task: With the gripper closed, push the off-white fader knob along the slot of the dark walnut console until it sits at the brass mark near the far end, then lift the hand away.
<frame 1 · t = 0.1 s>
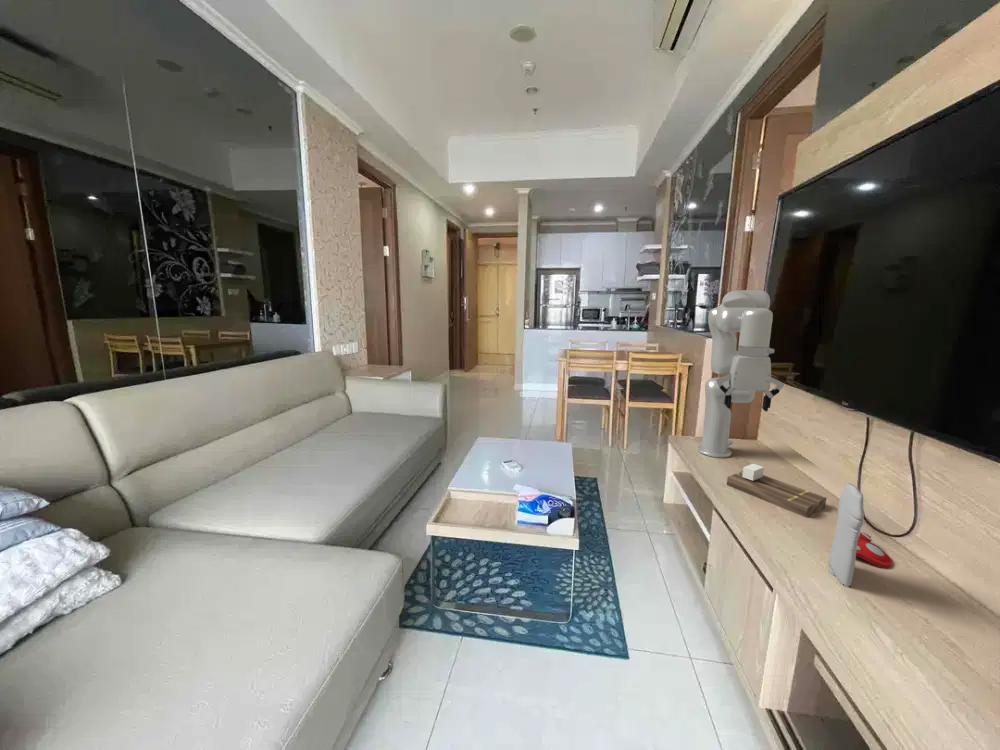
hand: (746, 408, 121), 31 cm above the tv stand, tool pointing down, fingers open, 9 cm apart
tracker holder: (866, 555, 102), on the tv stand
tall pale column: (839, 574, 95), on the tv stand
fader knob: (752, 474, 137), point 4 cm above the tv stand, slide at -7.0 cm
fader console: (773, 495, 132), on the tv stand
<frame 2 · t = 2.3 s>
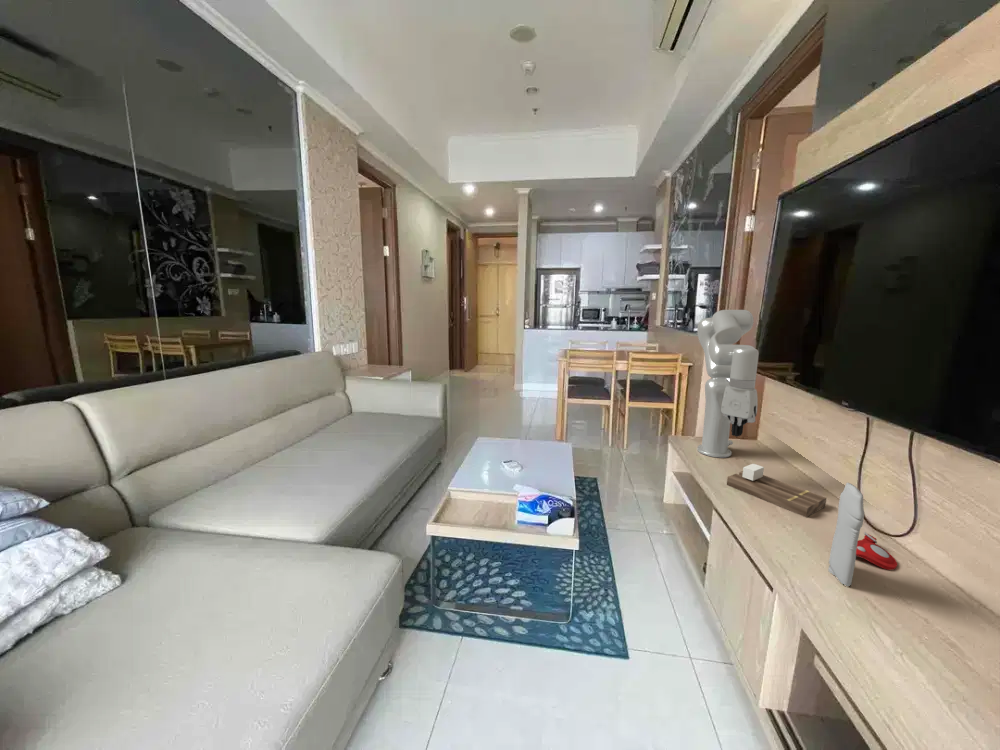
hand: (736, 435, 140), 16 cm above the tv stand, tool pointing down, fingers closed
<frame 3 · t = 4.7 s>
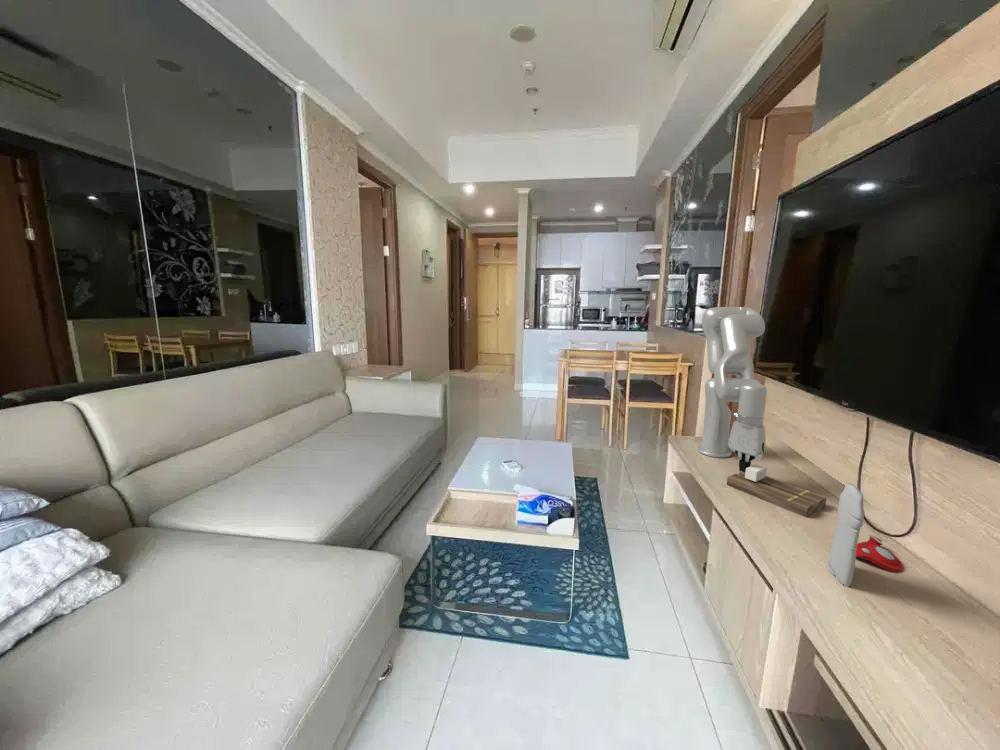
hand: (744, 470, 140), 5 cm above the tv stand, tool pointing down, fingers closed
fader knob: (755, 475, 137), point 4 cm above the tv stand, slide at -6.1 cm, touching gripper
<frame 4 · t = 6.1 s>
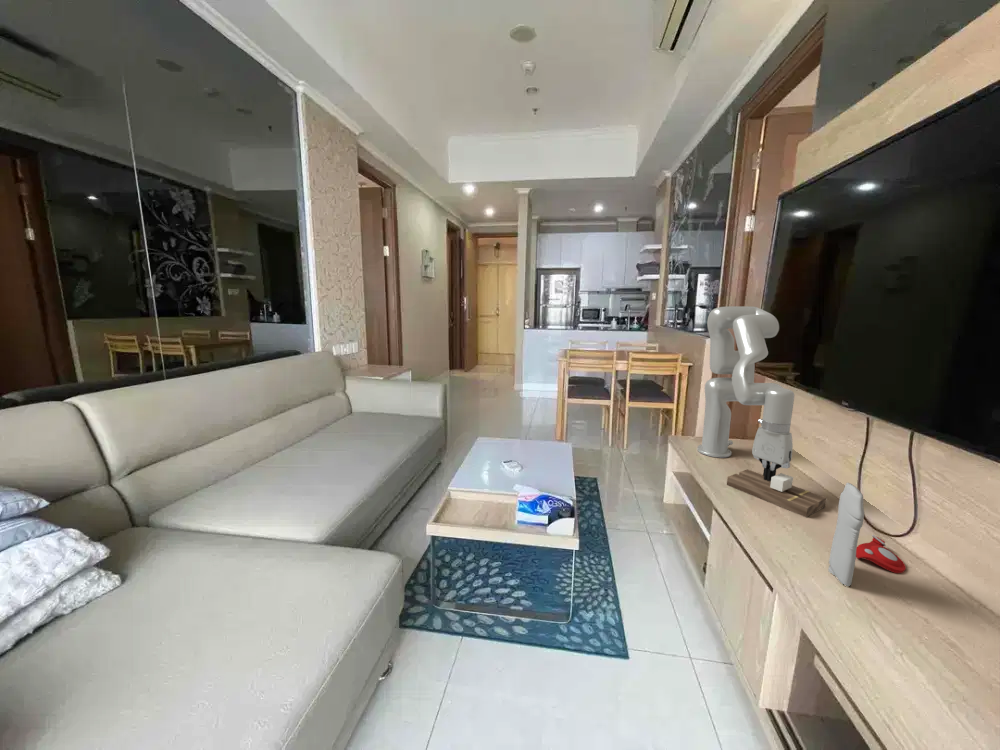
hand: (768, 479, 133), 5 cm above the tv stand, tool pointing down, fingers closed
fader knob: (781, 484, 130), point 4 cm above the tv stand, slide at 1.9 cm, touching gripper
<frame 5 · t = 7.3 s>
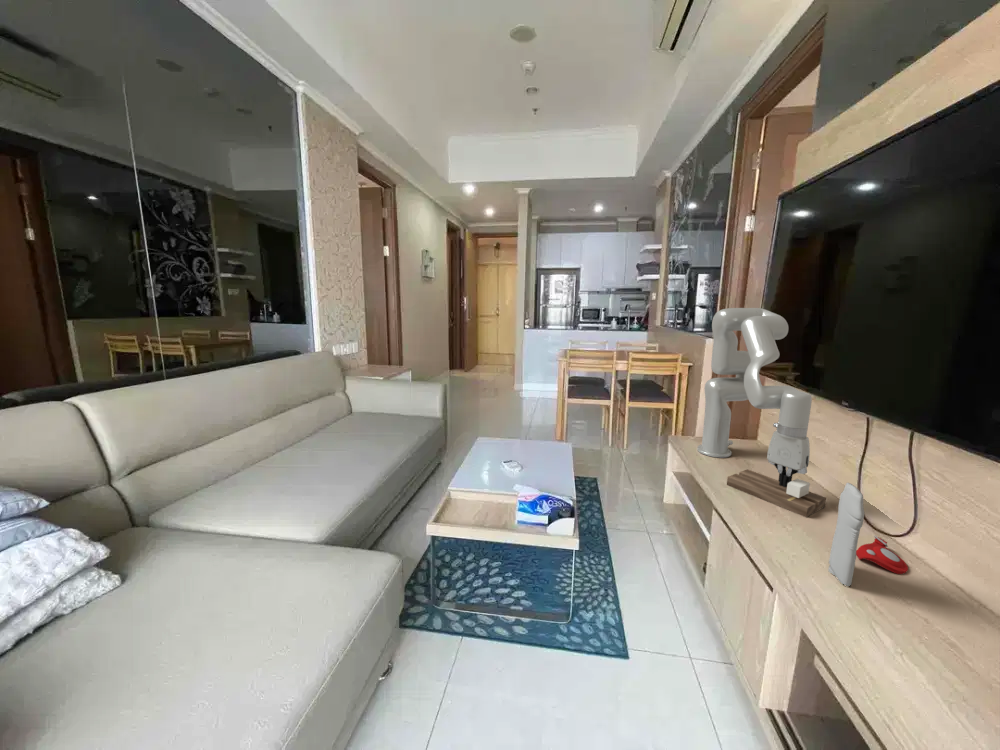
hand: (784, 485, 129), 5 cm above the tv stand, tool pointing down, fingers closed
fader knob: (797, 490, 126), point 4 cm above the tv stand, slide at 6.6 cm, touching gripper
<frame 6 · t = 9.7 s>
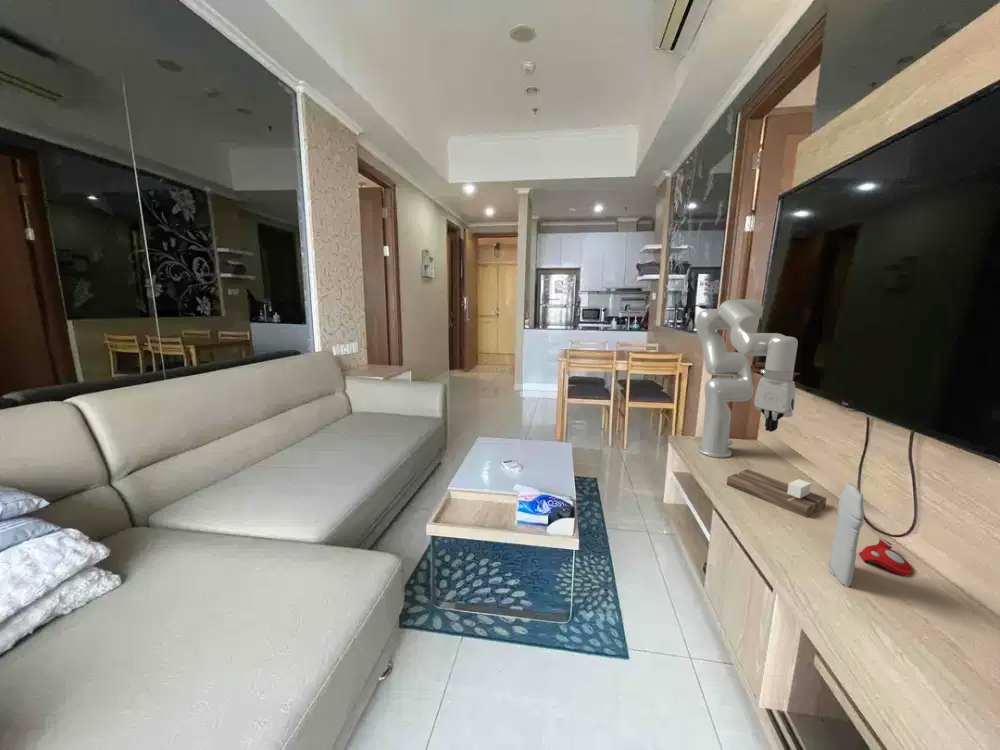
hand: (770, 430, 131), 21 cm above the tv stand, tool pointing down, fingers closed
fader knob: (798, 491, 126), point 4 cm above the tv stand, slide at 6.8 cm
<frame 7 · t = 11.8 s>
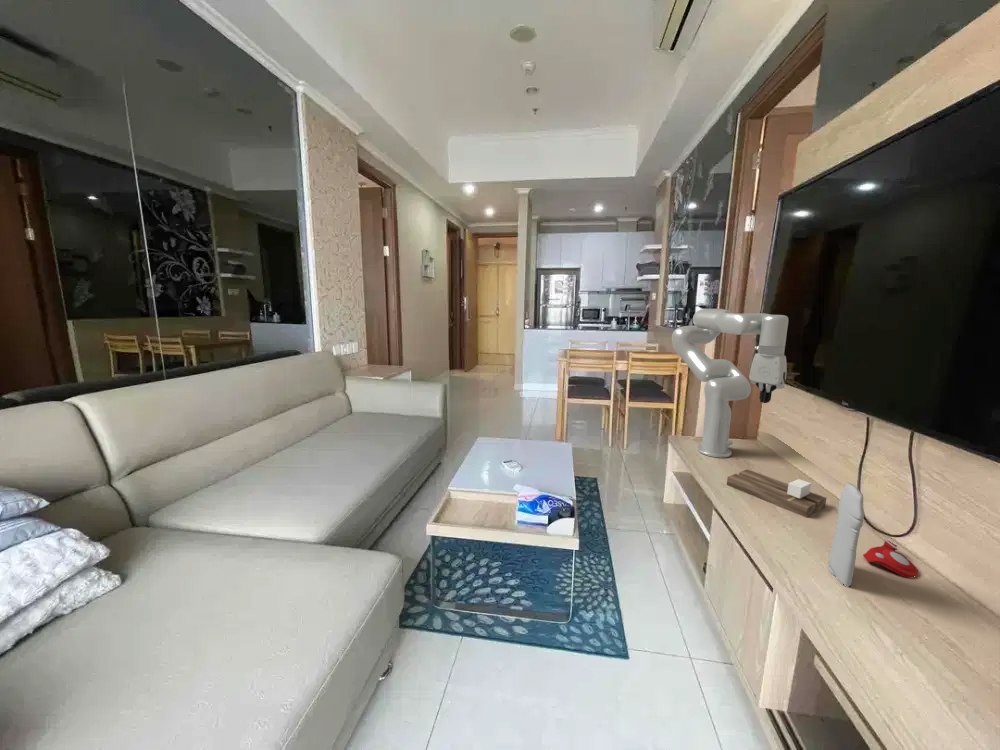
hand: (764, 402, 143), 27 cm above the tv stand, tool pointing down, fingers closed
at the end: fader knob slide at 6.8 cm; fader knob 6.8 cm from the fader console (horizontally) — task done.
